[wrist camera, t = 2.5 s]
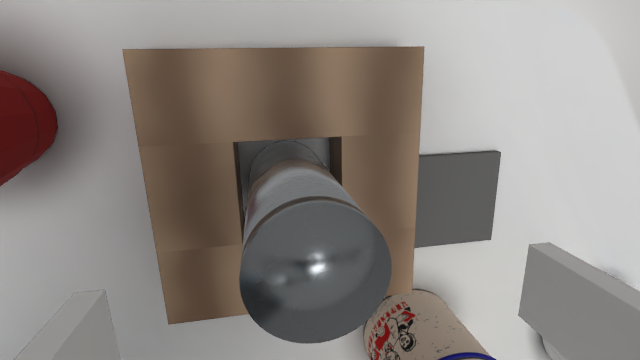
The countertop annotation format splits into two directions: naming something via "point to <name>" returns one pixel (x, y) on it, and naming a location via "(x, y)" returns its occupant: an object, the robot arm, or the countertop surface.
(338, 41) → the countertop surface
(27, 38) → the countertop surface
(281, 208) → the grey metal cylinder
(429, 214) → the pad
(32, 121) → the plastic cup
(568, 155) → the countertop surface
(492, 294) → the countertop surface
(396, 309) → the teacup with lid
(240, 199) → the frame
